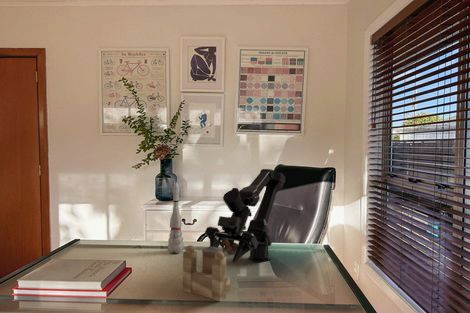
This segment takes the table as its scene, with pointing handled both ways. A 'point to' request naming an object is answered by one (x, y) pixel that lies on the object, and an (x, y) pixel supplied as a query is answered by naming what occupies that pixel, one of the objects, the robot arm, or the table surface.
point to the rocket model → (175, 225)
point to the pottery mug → (229, 245)
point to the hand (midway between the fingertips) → (221, 259)
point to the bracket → (209, 258)
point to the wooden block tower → (205, 276)
